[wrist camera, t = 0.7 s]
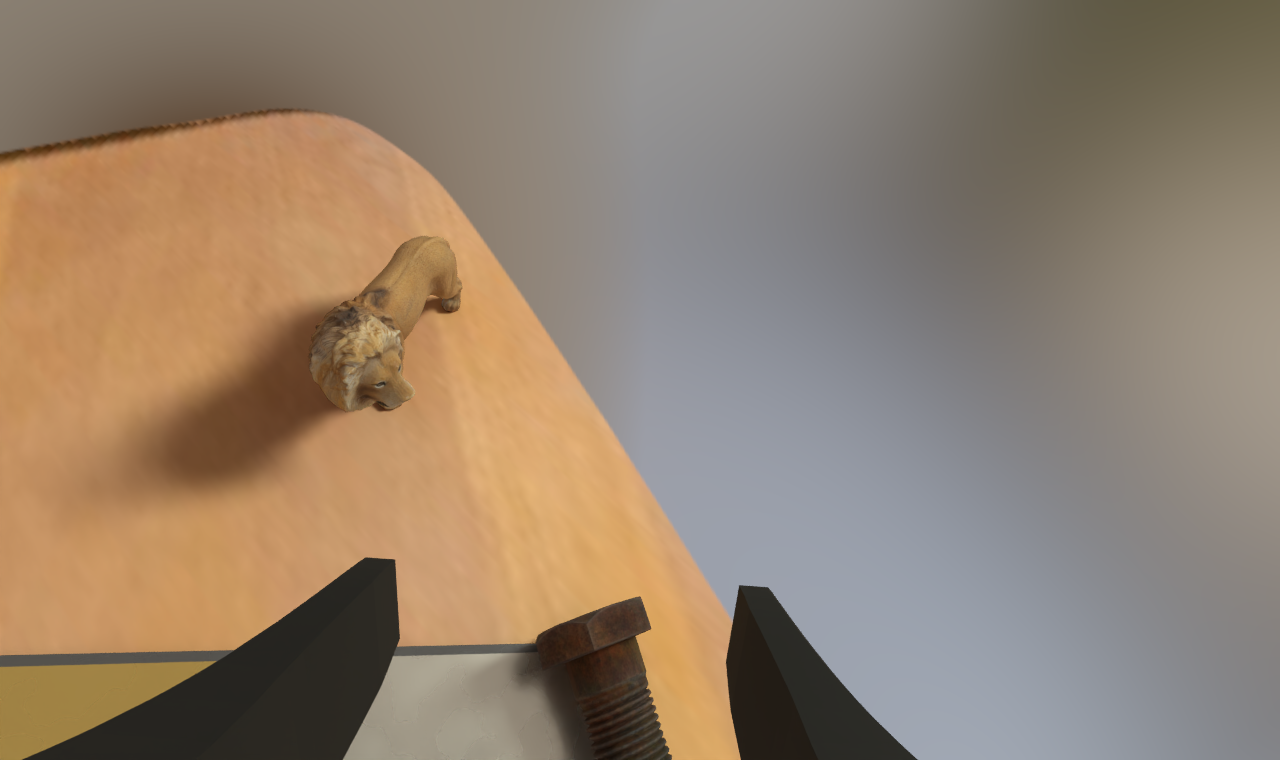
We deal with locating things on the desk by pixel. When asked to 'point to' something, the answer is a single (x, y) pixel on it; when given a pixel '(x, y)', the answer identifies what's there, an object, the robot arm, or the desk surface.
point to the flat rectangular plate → (390, 734)
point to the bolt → (609, 679)
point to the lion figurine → (382, 327)
